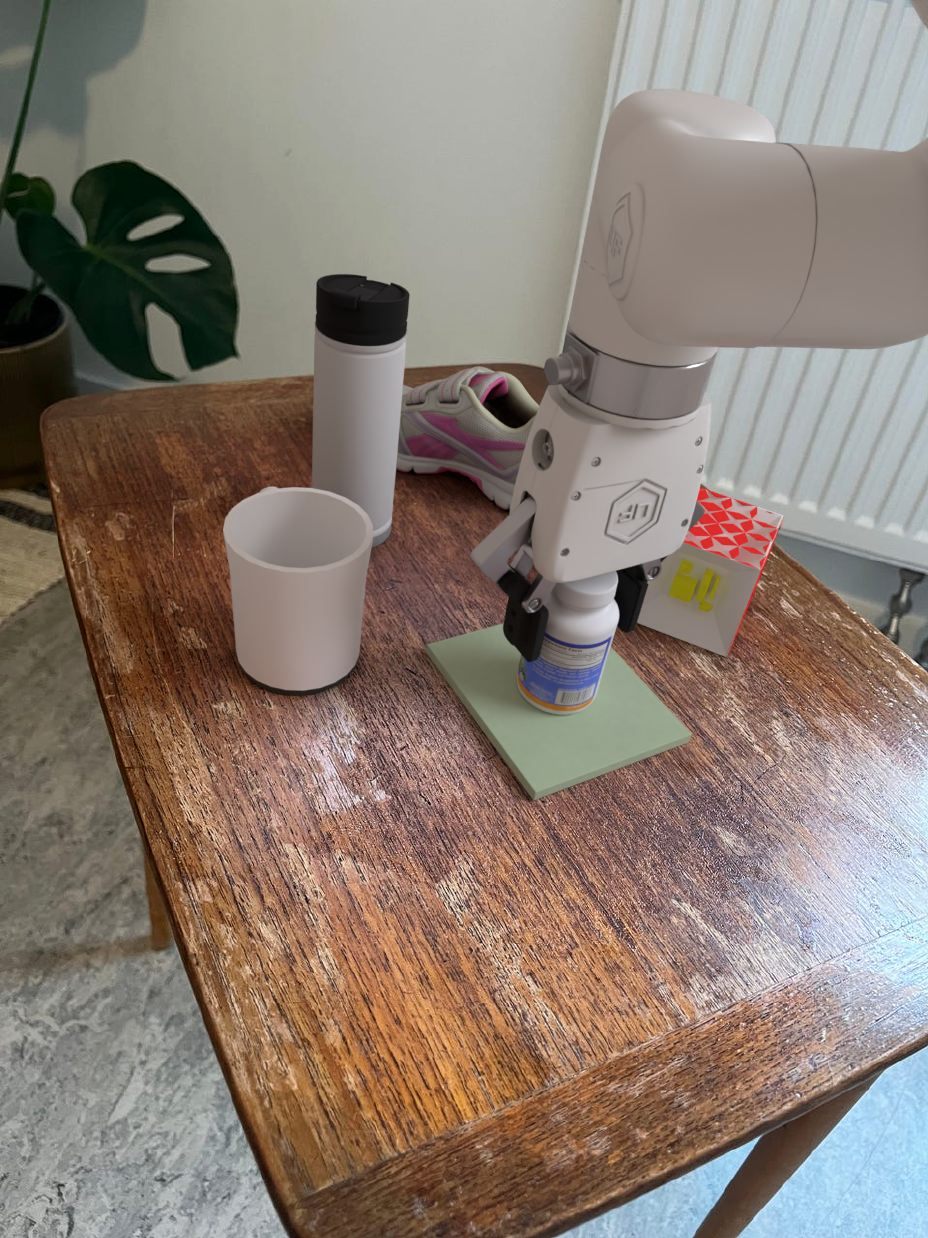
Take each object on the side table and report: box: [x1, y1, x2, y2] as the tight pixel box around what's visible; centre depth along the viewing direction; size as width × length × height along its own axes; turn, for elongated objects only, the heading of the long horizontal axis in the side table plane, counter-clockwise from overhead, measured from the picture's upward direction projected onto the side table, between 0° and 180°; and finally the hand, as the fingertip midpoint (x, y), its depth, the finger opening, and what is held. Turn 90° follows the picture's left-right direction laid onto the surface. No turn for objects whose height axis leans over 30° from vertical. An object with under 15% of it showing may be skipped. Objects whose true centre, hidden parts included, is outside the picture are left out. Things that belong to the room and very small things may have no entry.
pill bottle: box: [517, 571, 619, 715], centre depth 60 cm, size 5×5×10 cm
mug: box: [222, 486, 373, 696], centre depth 62 cm, size 11×9×10 cm
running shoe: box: [396, 365, 540, 511], centre depth 82 cm, size 9×22×10 cm, turn 64°
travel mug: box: [311, 273, 411, 549], centre depth 69 cm, size 6×7×20 cm
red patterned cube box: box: [637, 486, 785, 658], centre depth 71 cm, size 8×8×8 cm
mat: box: [425, 622, 692, 801], centre depth 64 cm, size 14×12×1 cm
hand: (569, 630), depth 60 cm, fingers open, 6 cm apart
